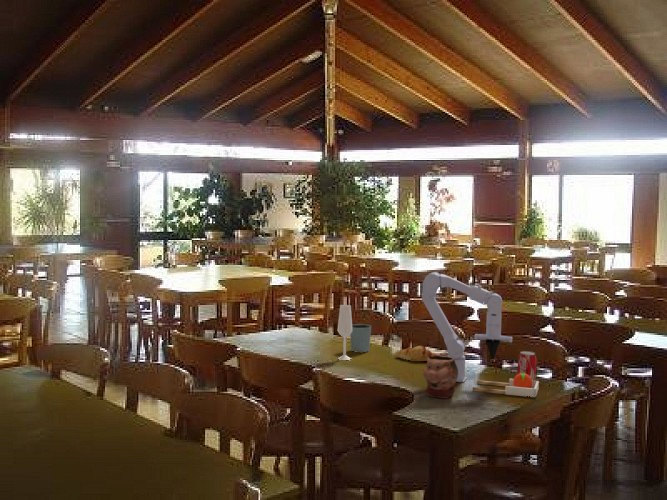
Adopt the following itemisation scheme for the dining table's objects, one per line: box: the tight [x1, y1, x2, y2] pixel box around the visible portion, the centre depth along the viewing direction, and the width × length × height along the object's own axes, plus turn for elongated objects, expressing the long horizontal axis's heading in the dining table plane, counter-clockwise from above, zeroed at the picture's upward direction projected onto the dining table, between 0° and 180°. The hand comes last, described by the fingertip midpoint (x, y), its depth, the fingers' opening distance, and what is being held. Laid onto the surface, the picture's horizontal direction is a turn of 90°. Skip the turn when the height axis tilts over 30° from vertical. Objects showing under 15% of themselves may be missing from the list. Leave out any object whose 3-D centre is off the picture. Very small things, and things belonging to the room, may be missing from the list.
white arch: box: [504, 378, 540, 398], centre depth 289 cm, size 11×14×3 cm
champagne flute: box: [337, 304, 353, 361], centre depth 340 cm, size 7×7×24 cm
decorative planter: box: [423, 355, 458, 399], centre depth 282 cm, size 20×12×14 cm, turn 158°
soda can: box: [516, 350, 537, 381], centre depth 302 cm, size 7×7×12 cm
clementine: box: [513, 373, 532, 388], centre depth 289 cm, size 8×7×7 cm
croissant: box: [395, 345, 441, 362], centre depth 342 cm, size 21×10×8 cm, turn 65°
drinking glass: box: [349, 323, 372, 353], centre depth 359 cm, size 10×10×12 cm
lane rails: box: [472, 379, 509, 395], centre depth 293 cm, size 12×13×1 cm
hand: (492, 358), depth 302 cm, fingers closed
